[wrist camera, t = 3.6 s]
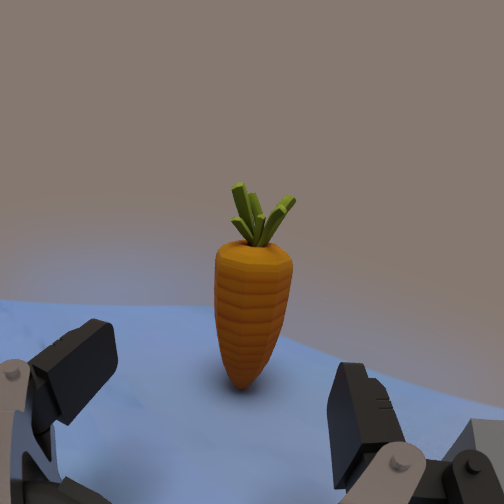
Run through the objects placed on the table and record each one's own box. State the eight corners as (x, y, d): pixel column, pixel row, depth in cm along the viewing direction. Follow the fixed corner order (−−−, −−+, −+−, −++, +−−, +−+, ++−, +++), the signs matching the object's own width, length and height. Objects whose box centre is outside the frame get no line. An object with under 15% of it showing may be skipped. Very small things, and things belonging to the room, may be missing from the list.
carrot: (276, 375, 22) (302, 188, 19) (268, 415, 18) (302, 188, 14) (218, 365, 23) (230, 181, 20) (200, 401, 18) (208, 179, 15)
